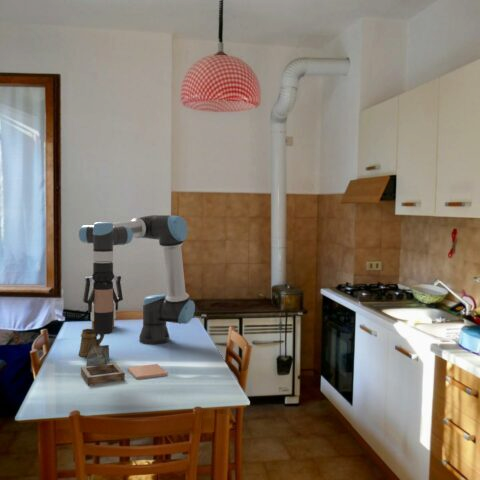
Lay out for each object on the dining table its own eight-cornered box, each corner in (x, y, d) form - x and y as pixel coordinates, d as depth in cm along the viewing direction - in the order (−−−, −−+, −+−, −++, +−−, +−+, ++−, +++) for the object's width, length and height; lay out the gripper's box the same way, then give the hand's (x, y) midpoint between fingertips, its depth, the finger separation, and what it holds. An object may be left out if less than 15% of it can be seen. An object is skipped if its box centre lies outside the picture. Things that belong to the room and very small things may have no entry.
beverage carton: (85, 372, 217) (85, 356, 216) (91, 359, 236) (91, 344, 235) (105, 371, 218) (105, 356, 218) (109, 358, 237) (109, 344, 237)
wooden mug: (107, 357, 238) (107, 317, 237) (76, 357, 237) (76, 317, 236) (110, 351, 247) (111, 313, 246) (81, 351, 246) (81, 313, 245)
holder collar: (115, 370, 220) (115, 363, 219) (124, 380, 207) (124, 372, 207) (80, 374, 213) (80, 367, 213) (88, 385, 201) (88, 377, 201)
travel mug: (95, 330, 213) (95, 280, 211) (114, 330, 213) (114, 280, 212) (91, 334, 205) (91, 283, 204) (111, 334, 206) (111, 283, 204)
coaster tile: (157, 366, 226) (157, 363, 226) (167, 375, 215) (167, 372, 215) (127, 369, 220) (127, 367, 220) (136, 379, 209) (136, 376, 209)
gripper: (126, 259, 215) (126, 315, 217) (74, 261, 206) (74, 319, 208) (131, 261, 209) (131, 319, 210) (78, 263, 199) (78, 323, 201)
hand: (103, 319), depth 209 cm, fingers closed on travel mug, 8 cm apart
